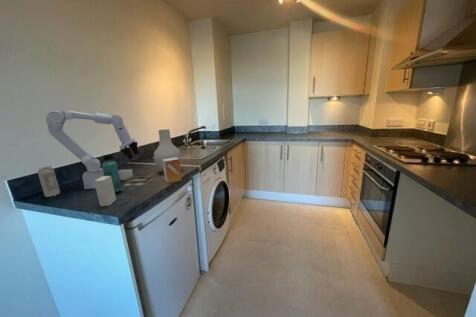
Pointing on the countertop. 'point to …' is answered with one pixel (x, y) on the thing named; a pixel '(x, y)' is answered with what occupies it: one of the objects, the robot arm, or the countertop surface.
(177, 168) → the small box
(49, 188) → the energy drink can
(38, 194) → the countertop surface
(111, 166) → the beverage bottle
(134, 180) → the channel board
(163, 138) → the vase
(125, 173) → the lock block
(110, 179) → the skincare box
